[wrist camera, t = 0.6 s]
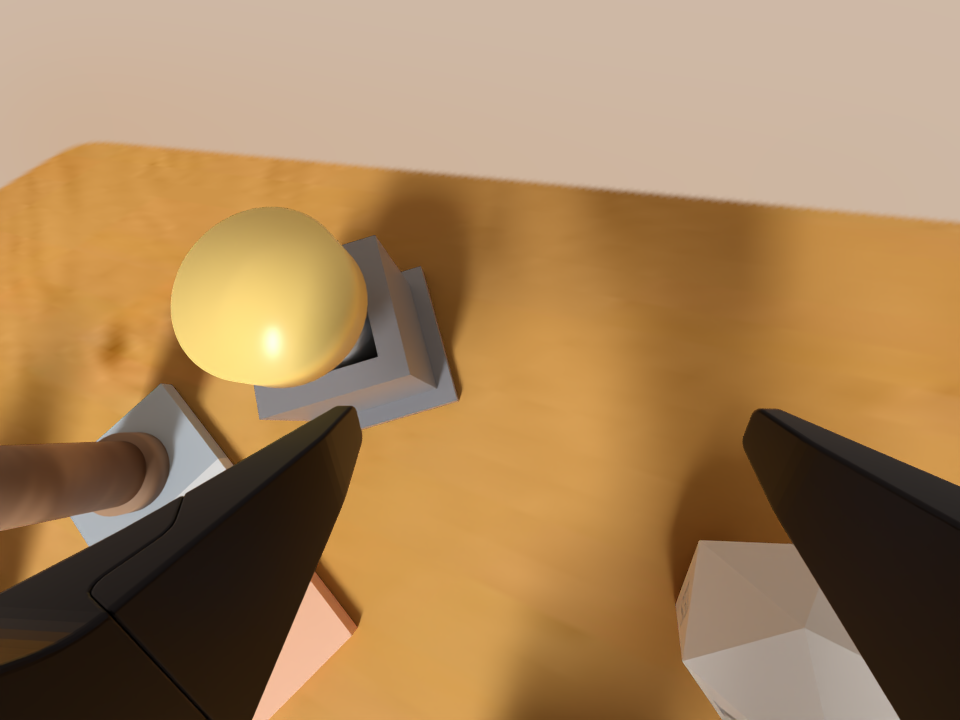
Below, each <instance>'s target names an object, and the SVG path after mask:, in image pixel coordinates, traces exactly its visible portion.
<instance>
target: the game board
mask: <svg viewBox="0 0 960 720" xmlns="http://www.w3.org/2000/svg"><path fill="white" fill-rule="evenodd" d="M122 432H144V433H148V434H151V435H153V436H155V437H156V438H158V439H159V440H160V441H161V442H162V443H163V445H164V446H165V448H166V450H167V453H168V456H169V463H170V468H169V475H168V479H167V482H166V485H165V487H164V489H163V490H162V492H161V493H160V495H159V496H158V497H157V498H156V500H155V501H153V502H152V503H151V504H150V505H148V506H147V507H145V508H143V509H141V510H139V511H135V512H131V513H127V514H122V515H118V516H112V517H107V516H101V515H98V514H96V513H94V512H90V513H85V514H80V515H75V516H70V517H71V519H72V520H73V522H74V524H75V525H76V527H77V528H78V530H79V531H80V533H81V535H82V536H83V538H84V539H85V541H86V542H87V544H88V546H91V545H93V544H95V543H97V542H99V541H101V540H103V539H104V538H106V537H108V536H110V535H112V534H114V533H116V532H118V531H120V530H121V529H123V528H125V527H127V526H129V525H131V524H132V523H134V522H136V521H138V520H139V519H141V518H143V517H145V516H147V515H148V514H150V513H152V512H154V511H155V510H157V509H159V508H161V507H162V506H164V505H166V504H168V503H169V502H171V501H173V500H174V499H176V498H178V497H180V496H184V495H185V493H187V492H188V491H190V490H192V489H194V488H195V487H197V486H199V485H201V484H202V483H204V482H206V481H207V480H209V479H211V478H213V477H214V476H216V475H218V474H220V473H221V472H223V471H225V470H226V469H228V468H230V467H232V466H233V464H232V462H231V461H230V460H229V459H228V457H227V456H226V455H225V453H224V452H223V451H222V449H221V448H220V447H219V445H218V444H217V443H216V442H215V440H214V439H213V438H212V436H211V435H210V434H209V432H208V431H207V430H206V428H205V427H204V426H203V425H202V423H201V422H200V421H199V419H198V418H197V417H196V415H195V414H194V413H193V411H192V410H191V409H190V408H189V406H188V405H187V404H186V402H185V401H184V400H183V398H182V397H181V396H180V394H179V393H178V392H177V391H176V389H175V388H174V387H173V385H170V384H162V383H161V384H160V385H159V386H157V387H156V388H155V389H154V390H153V391H152V392H151V393H150V394H149V395H147V396H146V397H145V398H144V399H143V400H142V401H141V402H140V403H138V404H137V405H136V406H135V407H134V408H133V409H132V410H131V411H130V412H128V413H127V414H126V415H125V416H124V417H123V418H122V419H121V420H120V421H118V422H117V423H116V424H115V425H114V426H113V427H112V428H111V429H109V430H108V431H107V432H106V433H105V434H104V435H103V436H102V437H101V438H99V439H98V440H97V441H96V442H98V441H100V440H101V439H103V438H105V437H106V436H109V435H111V434H115V433H122ZM357 628H358V627H357V626H356V625H355V623H354V622H353V621H352V619H351V618H350V617H349V616H348V614H347V613H346V612H345V610H344V609H343V608H342V606H341V605H340V604H339V602H338V601H337V600H336V599H335V597H334V596H333V595H332V593H331V592H330V591H329V589H328V588H327V587H326V585H325V584H324V583H323V581H322V580H321V579H320V578H319V576H318V575H317V574H316V572H314V574H313V577H312V579H311V581H310V584H309V586H308V589H307V591H306V593H305V596H304V598H303V600H302V603H301V605H300V608H299V610H298V612H297V615H296V617H295V619H294V622H293V624H292V627H291V629H290V631H289V634H288V636H287V638H286V641H285V643H284V646H283V648H282V650H281V653H280V655H279V657H278V660H277V662H276V665H275V667H274V669H273V672H272V674H271V676H270V679H269V681H268V684H267V686H266V688H265V691H264V693H263V695H262V698H261V700H260V703H259V705H258V707H257V710H256V712H255V714H254V717H253V719H252V720H268V719H269V718H270V717H271V716H272V715H273V714H274V713H275V712H276V711H277V710H278V709H279V708H280V707H281V706H282V705H283V704H284V703H285V702H286V701H287V700H288V699H289V698H290V697H291V696H292V695H293V694H294V693H295V692H296V691H297V690H298V689H299V688H300V687H301V686H302V685H303V684H304V683H305V682H306V681H307V680H308V679H309V678H310V677H311V676H312V675H313V674H314V673H315V672H316V671H317V670H318V669H319V668H320V667H321V666H322V665H323V664H324V663H325V662H326V661H327V660H328V659H329V658H330V657H331V656H332V655H333V654H334V653H335V652H336V651H337V650H338V649H339V648H340V647H341V646H342V645H343V644H344V643H345V642H346V641H347V640H348V639H349V638H350V637H351V636H352V635H353V633H354V632H355V631H356V629H357Z"/></svg>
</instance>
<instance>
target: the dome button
mask: <svg viewBox="0 0 960 720" xmlns="http://www.w3.org/2000/svg"><path fill="white" fill-rule="evenodd" d="M367 305H368V299H367V289H366V283H365V280H364V277H363V274H362V272H361V270H360V268H359V266H358V264H357V263H356V261H355V260H354V258H353V257H352V256H351V255H350V254H349V253H348V252H347V251H346V250H345V248H344V247H343V246H342V245H341V244H340V243H339V242H338V241H337V240H336V239H335V238H334V236H333V235H332V234H331V233H330V232H329V231H328V230H327V229H326V228H325V227H324V226H323V225H322V224H320V223H319V222H318V221H317V220H315V219H313V218H312V217H310V216H308V215H306V214H304V213H301V212H299V211H296V210H292V209H288V208H281V207H262V208H254V209H250V210H246V211H243V212H240V213H238V214H235V215H232V216H231V217H229V218H227V219H225V220H223V221H221V222H220V223H218V224H217V225H215V226H214V227H212V228H211V229H210V230H209V231H207V232H206V233H205V234H204V235H203V236H202V237H201V238H200V239H199V240H198V241H197V242H196V243H195V244H194V246H193V247H192V248H191V250H190V251H189V252H188V254H187V255H186V257H185V259H184V260H183V262H182V264H181V266H180V268H179V270H178V273H177V275H176V278H175V281H174V285H173V290H172V295H171V319H172V324H173V329H174V332H175V334H176V337H177V340H178V342H179V343H180V345H181V347H182V349H183V350H184V352H185V353H186V354H187V356H188V357H189V358H190V359H191V360H192V361H193V362H194V363H195V364H196V365H197V366H199V367H200V368H201V369H203V370H204V371H206V372H207V373H209V374H211V375H213V376H215V377H218V378H221V379H224V380H228V381H233V382H239V383H245V384H251V385H258V386H264V387H270V388H290V387H296V386H300V385H304V384H307V383H310V382H312V381H315V380H317V379H319V378H320V377H322V376H324V375H326V374H327V373H329V372H330V371H333V370H336V369H339V368H343V367H346V366H349V365H353V364H356V363H359V362H363V361H366V360H369V359H373V358H376V357H378V354H377V350H376V346H375V341H374V337H373V333H372V329H371V324H370V320H369V316H368V312H367Z"/></svg>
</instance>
